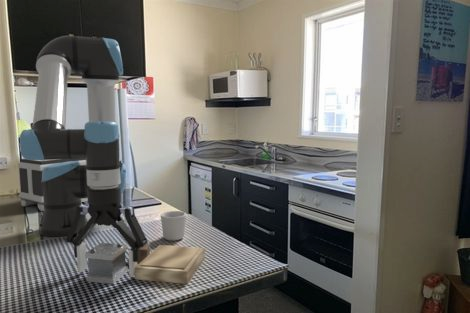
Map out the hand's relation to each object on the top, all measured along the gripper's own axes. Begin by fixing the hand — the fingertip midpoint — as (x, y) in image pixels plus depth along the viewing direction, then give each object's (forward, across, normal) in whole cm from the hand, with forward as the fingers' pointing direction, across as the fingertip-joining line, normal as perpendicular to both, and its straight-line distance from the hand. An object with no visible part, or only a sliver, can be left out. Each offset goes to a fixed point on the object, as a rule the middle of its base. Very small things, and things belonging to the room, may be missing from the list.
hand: (107, 272), depth 86 cm
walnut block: (+1, +4, +10) cm, 11 cm away
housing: (+1, 0, 0) cm, 1 cm away
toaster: (0, -60, +68) cm, 91 cm away
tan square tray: (+1, +14, +7) cm, 16 cm away
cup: (+1, +6, +30) cm, 31 cm away
